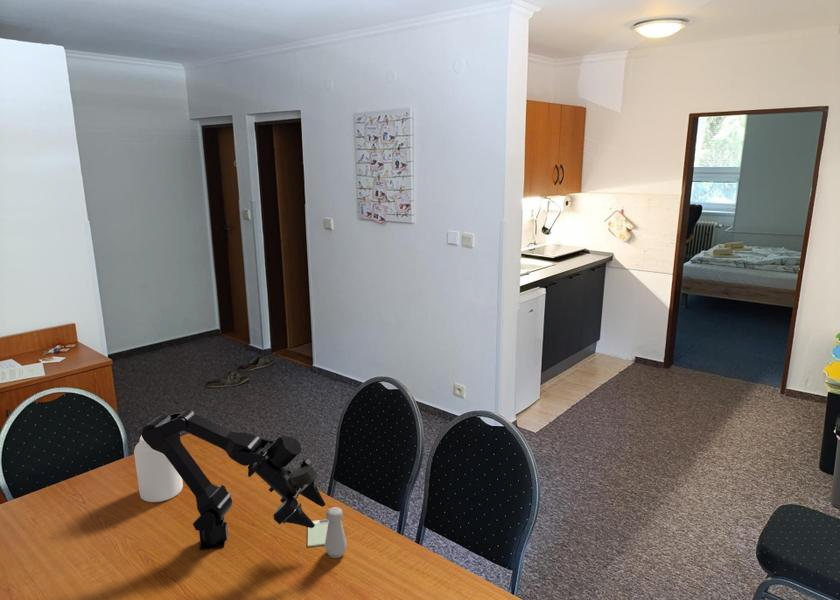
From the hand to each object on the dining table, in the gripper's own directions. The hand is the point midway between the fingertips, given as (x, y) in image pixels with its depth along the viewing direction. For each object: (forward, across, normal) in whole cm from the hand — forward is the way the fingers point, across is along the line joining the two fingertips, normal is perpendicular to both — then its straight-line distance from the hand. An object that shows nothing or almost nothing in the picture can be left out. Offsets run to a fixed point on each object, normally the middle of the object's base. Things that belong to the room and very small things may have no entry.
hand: (319, 515), depth 151 cm
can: (-34, +21, +49) cm, 63 cm away
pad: (+7, +7, +9) cm, 13 cm away
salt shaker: (+11, 0, +5) cm, 12 cm away
